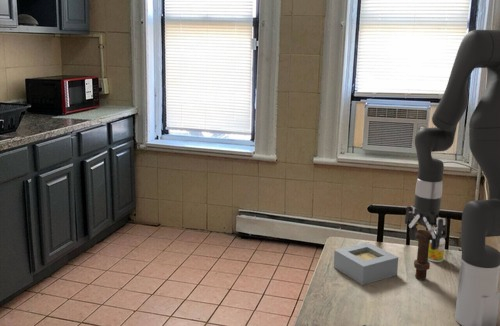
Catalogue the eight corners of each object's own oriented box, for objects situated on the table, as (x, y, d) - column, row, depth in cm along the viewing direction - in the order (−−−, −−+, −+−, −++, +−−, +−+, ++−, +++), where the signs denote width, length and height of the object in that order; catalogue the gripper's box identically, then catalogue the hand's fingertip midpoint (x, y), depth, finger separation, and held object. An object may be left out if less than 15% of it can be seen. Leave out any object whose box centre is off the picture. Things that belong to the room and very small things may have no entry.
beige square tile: (382, 264, 166) (382, 259, 165) (364, 268, 162) (364, 264, 162) (366, 255, 172) (366, 251, 171) (348, 260, 168) (349, 255, 168)
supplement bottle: (422, 257, 178) (425, 230, 176) (435, 254, 180) (437, 228, 178) (434, 263, 174) (437, 236, 171) (446, 260, 176) (449, 233, 173)
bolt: (430, 283, 160) (434, 236, 156) (413, 281, 161) (417, 235, 157) (427, 274, 165) (432, 229, 162) (411, 273, 166) (415, 228, 163)
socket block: (397, 275, 165) (398, 257, 164) (362, 284, 158) (363, 266, 157) (367, 258, 177) (368, 242, 175) (333, 267, 170) (334, 250, 169)
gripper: (456, 198, 152) (450, 250, 156) (419, 185, 164) (414, 234, 169) (438, 202, 149) (432, 255, 153) (401, 188, 161) (397, 238, 165)
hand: (423, 244), depth 161 cm, fingers open, 8 cm apart
